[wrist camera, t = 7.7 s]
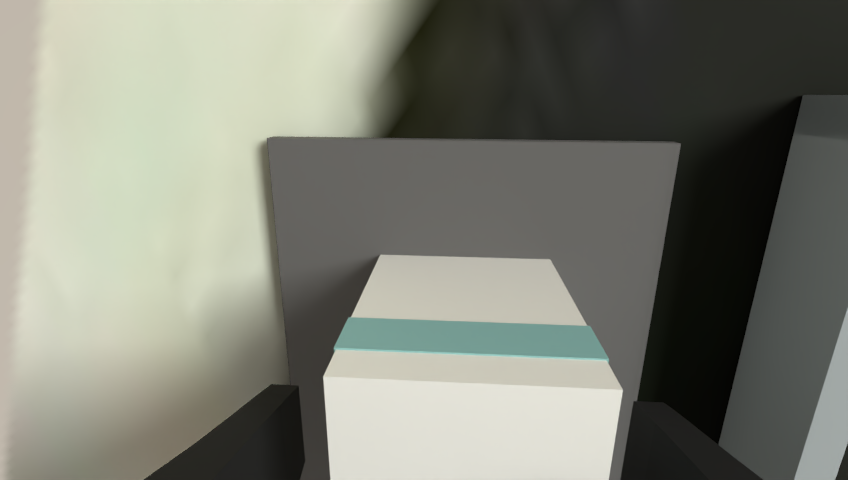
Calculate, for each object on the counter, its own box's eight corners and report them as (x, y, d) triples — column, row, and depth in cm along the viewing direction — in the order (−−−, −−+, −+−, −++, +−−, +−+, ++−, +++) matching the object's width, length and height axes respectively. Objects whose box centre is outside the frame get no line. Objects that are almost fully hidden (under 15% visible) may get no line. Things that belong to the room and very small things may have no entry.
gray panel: (605, 549, 14) (609, 562, 14) (309, 530, 14) (305, 542, 14) (672, 141, 10) (681, 143, 10) (273, 136, 11) (267, 138, 10)
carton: (551, 258, 11) (625, 387, 6) (531, 467, 13) (576, 691, 8) (379, 253, 11) (321, 374, 6) (384, 459, 13) (342, 671, 8)
